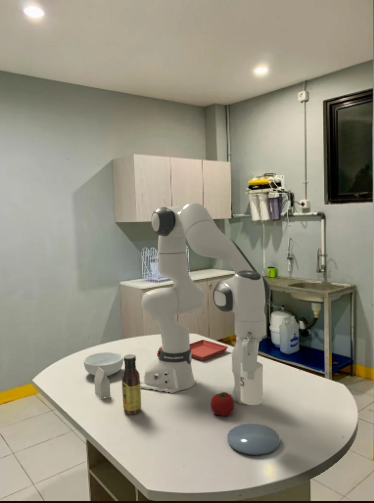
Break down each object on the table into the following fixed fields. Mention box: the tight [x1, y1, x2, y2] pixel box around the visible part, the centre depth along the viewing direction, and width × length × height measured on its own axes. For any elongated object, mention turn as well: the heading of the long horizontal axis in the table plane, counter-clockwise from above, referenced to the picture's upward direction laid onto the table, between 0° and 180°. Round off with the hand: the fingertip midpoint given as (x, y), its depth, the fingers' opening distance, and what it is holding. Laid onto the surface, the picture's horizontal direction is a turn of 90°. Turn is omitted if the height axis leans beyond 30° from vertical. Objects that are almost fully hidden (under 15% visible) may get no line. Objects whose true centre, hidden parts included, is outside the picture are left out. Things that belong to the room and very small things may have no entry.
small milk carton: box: [93, 367, 111, 400], centre depth 154 cm, size 4×7×10 cm, turn 31°
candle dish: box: [226, 423, 281, 456], centre depth 118 cm, size 15×15×2 cm
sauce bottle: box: [121, 353, 142, 415], centre depth 139 cm, size 7×6×20 cm
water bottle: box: [231, 335, 245, 405], centre depth 144 cm, size 7×7×25 cm
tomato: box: [210, 391, 235, 417], centre depth 136 cm, size 8×8×7 cm
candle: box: [240, 361, 264, 406], centre depth 117 cm, size 6×6×15 cm
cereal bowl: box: [83, 351, 124, 377], centre depth 175 cm, size 17×17×7 cm
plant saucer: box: [190, 339, 229, 362], centre depth 196 cm, size 18×18×3 cm
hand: (251, 374), depth 117 cm, fingers closed on candle, 4 cm apart
